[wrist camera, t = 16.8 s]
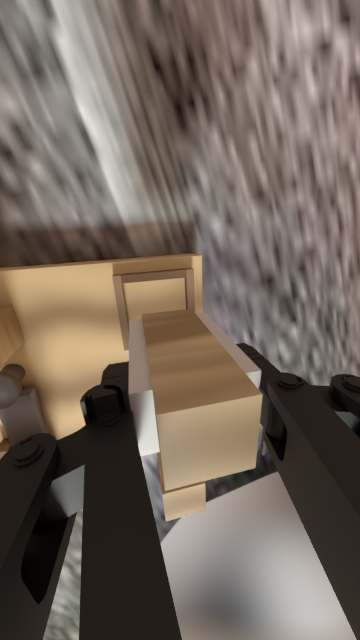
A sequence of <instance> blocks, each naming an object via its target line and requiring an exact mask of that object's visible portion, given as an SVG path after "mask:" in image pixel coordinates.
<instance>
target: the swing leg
mask: <svg viewBox="0 0 360 640" xmlns="http://www.w3.org/2000/svg"><path fill="white" fill-rule="evenodd" d="M0 420H1V422H2V424H3V427H4V429H5V431H6V434H7V436H8V438H9V441H10V443H11V446H14V445H15V444H16V443H18V442H19V441H21V440H23V439H25V438H27V437H29V436H31V435H35V434H39V433H49V434H51V435H53V433H50V432H49V429H48V426H47V423H46V420H45V417H44V414H43V411H42V408H41V405H40V402H39V399H38V396H37V393H36V390H35V387H30V388H24V389H22V386H21V383H20V382H19V380H18V379H17V378H16V377H14V376H12V375H10V374H8V373H3V372H0Z"/></svg>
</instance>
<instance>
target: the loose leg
mask: <svg viewBox="0 0 360 640" xmlns="http://www.w3.org/2000/svg"><path fill="white" fill-rule="evenodd" d="M142 322H143V329H144V336H145V342H146V349H147V356H148V363H149V370H150V377H151V384H152V391H153V399H154V408H155V416H156V424H157V433H158V441H159V449H160V457H161V464H162V472H163V479H164V486H165V491H167V490H171V489H175V488H179V487H183V486H187V485H191V484H194V483H198V482H202V481H206V480H210V479H214V478H218V477H222V476H226V475H229V474H233V473H237V472H241V471H245V470H249V469H253V468H255V465H256V455H257V446H258V436H259V426H260V416H261V406H262V396H263V394H262V393H261V392H260V390H259V389H258V388H257V387H256V386H255V384H254V383H253V382H252V381H251V380H250V378H249V377H248V376H247V375H246V374H245V372H244V371H243V370H242V369H241V368H240V366H239V365H238V364H237V363H236V362H235V360H234V359H233V358H232V357H231V356H230V354H229V353H228V352H227V351H226V350H225V348H224V347H223V346H222V345H221V344H220V342H219V341H218V340H217V339H216V338H215V336H214V335H213V334H212V333H211V332H210V330H209V329H208V328H207V327H206V326H205V324H204V323H203V322H202V321H201V320H200V318H199V317H198V316H197V315H196V314H195V312H194V311H193V310H192V309H182V310H174V311H165V312H157V313H148V314H142Z"/></svg>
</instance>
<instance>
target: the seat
mask: <svg viewBox="0 0 360 640" xmlns="http://www.w3.org/2000/svg"><path fill="white" fill-rule="evenodd" d="M182 309H192V310H193V311H194V312H195V313H197V312H203V305H202V255H198V254H194V253H190V254H176V255H163V256H150V257H137V258H123V259H110V260H97V261H84V262H70V263H57V264H44V265H31V266H17V267H4V268H0V372H3V373H8V374H10V375H12V376H14V377H16V378H17V379H18V380H19V382H20V383H21V386H22V389H24V388H30V387H35V390H36V393H37V396H38V399H39V402H40V405H41V408H42V411H43V414H44V417H45V420H46V423H47V426H48V429H49V432H50V433H53V436H54V437H55V439H56V440H59V439H61V438H63V437H65V436H68V435H70V434H72V433H74V432H76V431H78V430H80V429H81V428H82V427H84V426H85V425H86V424H85V420H84V417H83V413H82V409H81V406H80V400H81V398H82V396H83V395H84V394H85V393H86V392H87V391H88V390H89V389H91V388H93V387H94V386H97V385H99V384H100V383H101V380H102V379H101V378H102V374H103V371H104V370H105V368H106V367H107V366H108V365H109V364H114V363H121V362H127V361H129V321H132V320H140V319H142V314H148V313H157V312H165V311H174V310H182ZM11 447H12V446H11V443H10V441H9V438H8V436H7V434H6V431H5V429H4V427H3V424H2V422H1V420H0V459H1V458H2V457H3V456H4V454H5V453H6V452H7V451H8V450H9V449H10V448H11ZM157 456H158V464H159V472H160V480H161V487H162V495H163V503H164V511H165V519H166V521H169V520H173V519H176V518H180V517H183V516H187V515H190V514H194V513H197V512H201V511H204V510H206V501H205V481H202V482H198V483H194V484H191V485H187V486H183V487H179V488H175V489H171V490H167V491H165V486H164V479H163V472H162V464H161V457H160V452H157Z"/></svg>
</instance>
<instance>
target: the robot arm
mask: <svg viewBox="0 0 360 640" xmlns="http://www.w3.org/2000/svg"><path fill="white" fill-rule="evenodd" d="M195 314H196V315H197V316H198V317H199V318H200V320H201V321H202V322H203V323H204V324H205V326H206V327H207V328H208V329H209V330H210V332H211V333H212V334H213V335H214V336H215V338H216V339H217V340H218V341H219V342H220V344H221V345H222V346H223V347H224V348H225V350H226V351H227V352H228V353H229V354H230V356H231V357H232V358H233V359H234V360H235V362H236V363H237V364H238V365H239V366H240V368H241V369H242V370H243V371H244V372H245V374H246V375H247V376H248V377H249V378H250V380H251V381H252V382H253V383H254V384H255V386H256V387H257V388H258V389H259V390H260V392H261V393H262V394H263V396H262V406H261V416H260V423H261V425H262V426H263V433H262V443H261V453H262V455H265V450H266V446H267V448H268V451H269V454H270V455H271V457H272V459H273V461H274V463H275V466H276V468H277V470H278V472H279V474H280V476H281V478H282V481H283V483H284V485H285V487H286V489H287V491H288V493H289V495H290V498H291V500H292V502H293V504H294V506H295V508H296V510H297V513H298V514H299V517H300V519H301V521H302V523H303V525H304V528H305V530H306V532H307V534H308V536H309V538H310V540H311V543H312V545H313V547H314V549H315V551H316V553H317V555H318V558H319V560H320V562H321V564H322V566H323V568H324V570H325V572H326V575H327V577H328V579H329V581H330V583H331V585H332V587H333V590H334V592H335V594H336V596H337V598H338V600H339V602H340V604H341V607H342V609H343V611H344V613H345V615H346V617H347V620H348V622H349V624H350V626H351V628H352V630H353V632H354V634H355V637H356V639H357V640H360V377H357V376H354V375H348V374H340V375H335V376H333V377H332V379H331V383H330V386H316V385H309V384H308V383H307V382H306V381H305V380H304V379H302V378H301V377H299V376H296V375H294V374H290V373H281V372H280V371H279V370H278V369H277V368H275V367H274V366H273V365H272V364H271V363H270V362H269V361H268V360H267V359H265V358H264V357H263V356H262V355H261V354H259V352H258V351H257V350H256V349H254V348H253V347H252V346H249V345H247V344H245V343H241V344H235V343H234V342H233V341H232V340H231V339H230V338H229V337H228V336H227V335H226V334H225V333H224V332H223V331H222V330H221V329H220V328H219V327H218V326H217V324H216V323H215V322H214V321H213V320H212V319H211V318H210V317H209V316H208V315H207V314H206V313H205V312H197V313H195ZM101 379H102V380H101V383H100V384H99V385H97V386H94V387H93V388H91V389H89V390H88V391H87V392H86V393H85V394H84V395H83V396H82V398H81V400H80V406H81V409H82V413H83V417H84V420H85V424H86V425H85V426H84V427H82V428H81V429H80V430H78V431H76V432H74V433H72V434H70V435H68V436H65V437H63V438H61V439H59V440H56V439H55V437H54V436H53V435H51V434H49V433H39V434H35V435H31V436H29V437H27V438H25V439H23V440H21V441H19V442H18V443H16V444H15V445H14V446H12V447H11V448H10V449H9V450H8V451H7V452H6V453H5V454H4V456H3V457H2V458H1V459H0V640H43V636H44V632H45V629H46V625H47V621H48V618H49V614H50V610H51V606H52V603H53V599H54V595H55V592H56V588H57V584H58V581H59V577H60V573H61V570H62V566H63V562H64V558H65V555H66V551H67V547H68V544H69V540H70V536H71V533H72V529H73V525H74V521H75V518H76V514H77V512H78V511H79V510H81V509H83V528H82V561H81V594H80V626H79V640H182V638H181V634H180V630H179V625H178V621H177V616H176V612H175V607H174V603H173V598H172V594H171V590H170V585H169V581H168V577H167V572H166V567H165V563H164V559H163V554H162V550H161V545H160V541H159V536H158V532H157V527H156V523H155V518H154V514H153V510H152V505H151V501H150V496H149V492H148V487H147V483H146V479H145V474H144V470H143V465H142V461H141V456H144V455H148V454H153V453H157V452H160V449H159V441H158V433H157V424H156V416H155V408H154V399H153V391H152V384H151V377H150V370H149V363H148V356H147V349H146V342H145V336H144V329H143V322H142V319H140V320H132V321H129V361H127V362H121V363H114V364H109V365H108V366H107V367H106V368H105V370H104V371H103V374H102V378H101Z"/></svg>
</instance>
